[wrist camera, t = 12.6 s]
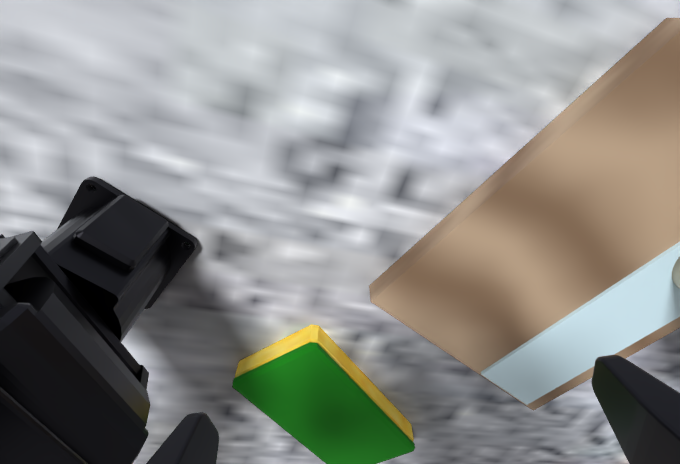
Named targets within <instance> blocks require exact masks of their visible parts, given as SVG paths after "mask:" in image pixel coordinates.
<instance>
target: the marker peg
mask: <svg viewBox="0 0 680 464" xmlns="http://www.w3.org/2000/svg"><path fill="white" fill-rule="evenodd" d="M672 280H673V282H674V284H675V285H676V286H677V287H678V288H679V289H680V257H679V258H678V259H677V261H676V262H675V264H674V267H673V269H672Z"/></svg>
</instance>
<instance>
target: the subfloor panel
mask: <svg viewBox="0 0 680 464" xmlns="http://www.w3.org/2000/svg"><path fill="white" fill-rule="evenodd" d="M679 257H680V18H666V19H665V20H664V21H663V22H661V23H660V24H659V25H658V26H657V27H656V28H655V29H654V30H653V31H652V32H650V33H649V34H648V35H647V36H646V37H645V38H644V39H643V40H642V41H640V42H639V43H638V44H637V45H636V46H635V47H634V48H633V49H632V50H630V51H629V52H628V53H627V54H626V55H625V56H624V57H623V58H622V59H620V60H619V61H618V62H617V63H616V64H615V65H614V66H613V67H612V68H610V69H609V70H608V71H607V72H606V73H605V74H604V75H603V76H602V77H600V78H599V79H598V80H597V81H596V82H595V83H594V84H593V85H592V86H590V87H589V88H588V89H587V90H586V91H585V92H584V93H583V94H582V95H580V96H579V97H578V98H577V99H576V100H575V101H574V102H573V103H572V104H571V105H569V106H568V107H567V108H566V109H565V110H564V111H563V112H562V113H561V114H559V115H558V116H557V117H556V118H555V119H554V120H553V121H552V122H551V123H549V124H548V125H547V126H546V127H545V128H544V129H543V130H542V131H541V132H539V133H538V134H537V135H536V136H535V137H534V138H533V139H532V140H531V141H529V142H528V143H527V144H526V145H525V146H524V147H523V148H522V149H521V150H519V151H518V152H517V153H516V154H515V155H514V156H513V157H512V158H511V159H509V160H508V161H507V162H506V163H505V164H504V165H503V166H502V167H501V168H499V169H498V170H497V171H496V172H495V173H494V174H493V175H492V176H491V177H489V178H488V179H487V180H486V181H485V182H484V183H483V184H482V185H481V186H480V187H478V188H477V189H476V190H475V191H474V192H473V193H472V194H471V195H470V196H468V197H467V198H466V199H465V200H464V201H463V202H462V203H461V204H460V205H458V206H457V207H456V208H455V209H454V210H453V211H452V212H451V213H450V214H448V215H447V216H446V217H445V218H444V219H443V220H442V221H441V222H440V223H438V224H437V225H436V226H435V227H434V228H433V229H432V230H431V231H430V232H428V233H427V234H426V235H425V236H424V237H423V238H422V239H421V240H420V241H418V242H417V243H416V244H415V245H414V246H413V247H412V248H411V249H410V250H408V251H407V252H406V253H405V254H404V255H403V256H402V257H401V258H400V259H399V260H397V261H396V262H395V263H394V264H393V265H392V266H391V267H390V268H389V269H387V270H386V271H385V272H384V273H383V274H382V275H381V276H380V277H379V278H377V279H376V280H375V281H374V282H373V283H372V284H371V285H370V286H369V288H370V298H371V302H372V303H374V304H375V305H377V306H378V307H379V308H381V309H382V310H384V311H385V312H387V313H388V314H390V315H391V316H393V317H394V318H396V319H397V320H399V321H400V322H402V323H403V324H405V325H406V326H408V327H409V328H411V329H412V330H414V331H415V332H417V333H418V334H420V335H421V336H423V337H424V338H426V339H427V340H429V341H430V342H432V343H433V344H435V345H436V346H438V347H439V348H441V349H442V350H444V351H445V352H447V353H448V354H450V355H451V356H453V357H454V358H456V359H457V360H459V361H460V362H462V363H463V364H465V365H466V366H467V367H469V368H470V369H472V370H473V371H475V372H476V373H478V374H479V375H481V376H482V377H484V378H485V379H487V380H488V381H490V382H491V383H493V384H494V385H496V386H497V387H499V388H500V389H502V390H503V391H505V392H506V393H508V394H509V395H511V396H512V397H514V398H515V399H517V400H518V401H520V402H521V403H523V404H524V405H526V406H527V407H529V408H530V409H532V410H535V409H537V408H539V407H540V406H542V405H544V404H546V403H548V402H549V401H551V400H553V399H555V398H556V397H558V396H560V395H562V394H563V393H565V392H567V391H569V390H571V389H572V388H574V387H576V386H578V385H579V384H581V383H583V382H585V381H586V380H588V379H590V378H592V376H593V371H594V365H595V360H596V359H597V358H598V357H601V356H608V355H619V356H621V357H623V358H627V357H629V356H631V355H632V354H634V353H636V352H638V351H639V350H641V349H643V348H645V347H646V346H648V345H650V344H652V343H654V342H655V341H657V340H659V339H661V338H662V337H664V336H666V335H668V334H669V333H671V332H673V331H675V330H676V329H678V328H680V289H679V288H678V287H677V286H676V285H675V284H674V282H673V280H672V269H673V267H674V264H675V262H676V261H677V259H678V258H679Z"/></svg>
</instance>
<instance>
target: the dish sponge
mask: <svg viewBox="0 0 680 464" xmlns="http://www.w3.org/2000/svg"><path fill="white" fill-rule="evenodd" d="M232 387H233V388H234V389H235V390H237V391H238V392H239V393H240V394H242V395H243V396H244V397H245V398H246V399H248V400H249V401H250V402H251V403H253V404H254V405H255V406H256V407H257V408H259V409H260V410H261V411H262V412H264V413H265V414H266V415H267V416H268V417H270V418H271V419H272V420H273V421H275V422H276V423H277V424H278V425H280V426H281V427H282V428H283V429H284V430H286V431H287V432H288V433H289V434H291V435H292V436H293V437H294V438H295V439H297V440H298V441H299V442H300V443H302V444H303V445H304V446H305V447H306V448H308V449H309V450H310V451H311V452H313V453H314V454H315V455H316V456H317V457H319V458H320V459H321V460H322V461H324V462H325V463H326V464H377V463H380V462H383V461H386V460H389V459H392V458H395V457H398V456H401V455H403V454H406V453H409V452H412V451H414V449H415V445H414V443H413V440H414V438H413V432H412V426H411V424H410V422H409V421H408V420H407V419H406V418H405V417H404V416H403V415H402V414H401V413H400V412H399V411H398V410H397V409H396V408H395V406H394V405H393V404H392V403H391V402H390V401H389V400H388V399H387V398H386V397H385V396H384V395H383V394H382V393H381V392H380V390H379V389H378V388H377V387H376V386H375V385H374V384H373V383H372V382H371V381H370V380H369V379H368V378H367V377H366V376H365V374H364V373H363V372H362V371H361V370H360V369H359V368H358V367H357V366H356V365H355V364H354V363H353V362H352V361H351V360H350V358H349V357H348V356H347V355H346V354H345V353H344V352H343V351H342V350H341V349H340V348H339V347H338V346H337V345H336V344H335V342H334V341H333V340H332V339H331V338H330V337H329V336H328V335H327V334H326V333H325V332H324V331H323V330H322V329H321V327H320V326H318V325H310V326H308V327H306V328H304V329H302V330H300V331H298V332H296V333H294V334H292V335H290V336H288V337H286V338H284V339H282V340H280V341H278V342H276V343H274V344H272V345H270V346H268V347H266V348H264V349H262V350H260V351H258V352H256V353H254V354H252V355H250V356H248V357H246V358H244V359H242V360H240V361H239V364H238V367H237V370H236V373H235V378H234V380H233V386H232Z"/></svg>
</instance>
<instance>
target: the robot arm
mask: <svg viewBox="0 0 680 464" xmlns="http://www.w3.org/2000/svg"><path fill="white" fill-rule="evenodd" d="M90 184H92V185H94V186H95V187H96V190H95V189H93V188H92V187H91V185H90ZM184 242H187V243H189V244H190V246H188V245H186V244H185V243H184ZM196 246H197V241H196V239H195V238H194V237H193V236H191V235H190V234H188V233H186V232H185V231H183V230H181V229H180V228H178V227H177V226H175V225H173V224H172V223H170V222H169V221H167V220H166V219H164V218H163V217H161V216H159V215H158V214H156V213H155V212H153V211H151V210H150V209H148V208H146V207H145V206H143V205H142V204H140V203H138V202H137V201H135V200H134V199H132V198H130V197H129V196H127V195H125V194H123V193H122V192H120V191H118V190H117V189H115V188H114V187H112V186H110V185H109V184H107V183H105V182H104V181H102V180H101V179H99V178H97V177H89V178H87V179H85V180H84V181H83V182H82V183H81V185H80V187H79V189H78V191H77V193H76V195H75V196H74V198H73V200H72V202H71V204H70V206H69V208H68V210H67V212H66V214H65V215H64V217H63V219H62V221H61V223H60V225H59V227H58V229H57V230H56V231H55V232H53V233H52V234H51V235H49V236H48V237H47V238H45V239H44V240H43V241H41V240H40V239H39V237H38V236H37V235H36V234H35V232H34V231H30V232H27V233H23V234H20V235H16V236H13V237H8V238H5V237H4V236H3V235H2V234H1V235H0V464H132V463H133V462H134V460H135V459H136V458H137V456H138V454H139V453H140V451H141V449H142V447H143V445H144V443H145V441H146V439H147V437H148V430H147V429H146V428H145V426H146V423H147V418H148V413H149V408H150V402H149V397H148V393H147V390H146V389H147V383H148V376H149V372H148V371H147V370H146V369H145V368H144V366H143V365H139V364H138V363H137V361H136V360H135V359H134V358H133V357H132V355H131V354H130V353H129V352H128V350H127V349H126V348H125V347H124V346H123V344H122V343H121V342H122V340H123V339H124V337H125V336H126V334H127V333H128V331H129V330H130V328H131V327H132V325H133V324H134V322H135V321H136V319H137V318H138V317H139V315H140V314H141V312H142V311H143V309H148V308H150V307H151V306H152V305H153V303H154V302H155V301H156V300H157V298H158V297H159V296H160V294H161V293H162V292H163V290H164V289H165V288H166V286H167V285H168V284H169V283H170V281H171V280H172V279H173V277H174V276H175V275H176V273H177V272H178V271H179V269H180V268H181V267H182V265H183V264H184V263H185V262H186V260H187V259H188V258H189V256H190V255H191V254H192V252H193V251H194V250H195V248H196ZM592 387H593V390H594V393H595V395H596V397H597V399H598V401H599V403H600V405H601V407H602V409H603V411H604V413H605V415H606V417H607V419H608V421H609V423H610V425H611V427H612V429H613V431H614V433H615V435H616V438H617V440H618V442H619V444H620V446H621V448H622V450H623V452H624V454H625V456H626V458H627V460H628V461H629V463H630V464H680V393H679V392H677V391H676V390H674V389H672V388H671V387H669V386H668V385H666V384H665V383H663V382H661V381H660V380H658V379H657V378H655V377H653V376H652V375H650V374H649V373H647V372H645V371H644V370H642V369H641V368H639V367H637V366H636V365H634V364H633V363H631V362H630V361H628V360H626V359H625V358H623V357H621V356H619V355H608V356H601V357H598V358H597V359H596V360H595V365H594V371H593V376H592ZM218 443H219V436H218V432H217V429H216V428H215V426H214V425H213V423H212V422H211V420H210V419H209V417H208V415H207V414H206V413H204V412H200V413H193V414H189V415H187V416H186V417H185V418H184V419H183V420H182V421H181V423H180V424H179V425H178V426H177V427H176V429H175V430H174V431H173V432H172V433H171V435H170V436H169V437H168V438H167V439H166V441H165V442H164V443H163V444H162V445H161V447H160V448H159V449H158V450H157V451H156V453H155V454H154V455H153V456H152V457H151V459H150V460H149V461H148V462H147V463H146V464H216V459H217V451H218Z"/></svg>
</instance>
